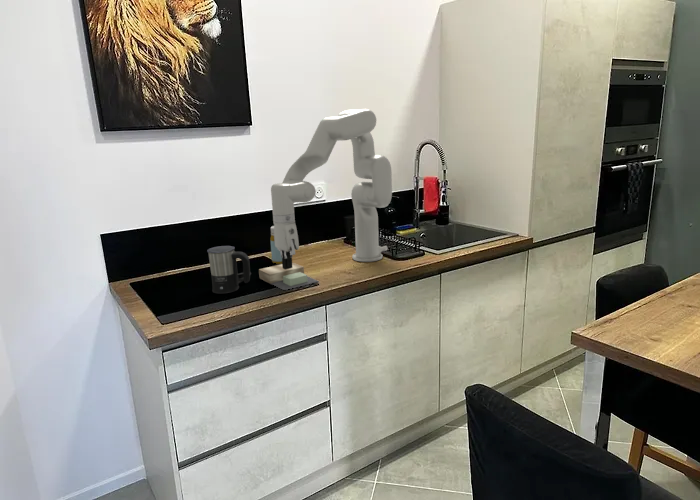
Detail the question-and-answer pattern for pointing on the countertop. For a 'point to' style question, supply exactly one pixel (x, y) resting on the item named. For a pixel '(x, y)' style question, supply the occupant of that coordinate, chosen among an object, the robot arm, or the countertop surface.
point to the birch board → (278, 272)
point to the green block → (295, 279)
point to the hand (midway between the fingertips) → (287, 268)
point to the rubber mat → (286, 287)
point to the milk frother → (227, 269)
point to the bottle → (275, 249)
